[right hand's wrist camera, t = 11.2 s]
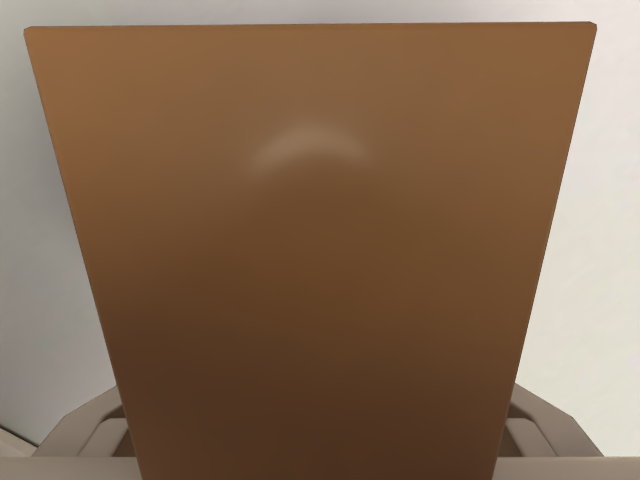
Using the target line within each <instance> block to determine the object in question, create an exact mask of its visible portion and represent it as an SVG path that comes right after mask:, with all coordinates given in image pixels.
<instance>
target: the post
mask: <svg viewBox="0 0 640 480" xmlns="http://www.w3.org/2000/svg"><path fill="white" fill-rule="evenodd" d="M596 31H597V25H596V24H594V23H592V22H478V23H365V24H253V25H140V26H31V27H29V28H26V29H24V38H25V42H26V45H27V49H28V53H29V57H30V60H31V64H32V68H33V72H34V75H35V79H36V83H37V87H38V90H39V94H40V98H41V102H42V106H43V109H44V113H45V117H46V121H47V124H48V128H49V132H50V136H51V139H52V143H53V147H54V151H55V154H56V158H57V162H58V166H59V169H60V173H61V177H62V181H63V184H64V188H65V192H66V196H67V199H68V203H69V207H70V211H71V214H72V218H73V222H74V226H75V229H76V233H77V237H78V241H79V244H80V248H81V252H82V256H83V260H84V263H85V267H86V271H87V275H88V278H89V282H90V286H91V290H92V293H93V297H94V301H95V305H96V308H97V312H98V316H99V320H100V323H101V327H102V331H103V335H104V338H105V342H106V346H107V350H108V353H109V357H110V361H111V365H112V368H113V372H114V376H115V380H116V383H117V387H118V391H119V395H120V399H121V402H122V406H123V410H124V414H125V417H126V421H127V425H128V429H129V432H130V436H131V440H132V444H133V447H134V451H135V455H136V459H137V462H138V466H139V470H140V474H141V477H142V480H492V478H493V474H494V469H495V465H496V461H497V456H498V452H499V448H500V444H501V439H502V435H503V431H504V426H505V422H506V418H507V414H508V409H509V405H510V401H511V396H512V392H513V388H514V384H515V379H516V375H517V371H518V366H519V362H520V358H521V353H522V349H523V345H524V341H525V336H526V332H527V328H528V323H529V319H530V315H531V311H532V306H533V302H534V298H535V293H536V289H537V285H538V280H539V276H540V272H541V268H542V263H543V259H544V255H545V250H546V246H547V242H548V238H549V233H550V229H551V225H552V220H553V216H554V212H555V207H556V203H557V199H558V195H559V190H560V186H561V182H562V177H563V173H564V169H565V165H566V160H567V156H568V152H569V147H570V143H571V139H572V134H573V130H574V126H575V122H576V117H577V113H578V109H579V104H580V100H581V96H582V92H583V87H584V83H585V79H586V74H587V70H588V66H589V62H590V57H591V53H592V49H593V44H594V40H595V36H596Z"/></svg>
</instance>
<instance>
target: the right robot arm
mask: <svg viewBox="0 0 640 480" xmlns="http://www.w3.org/2000/svg"><path fill="white" fill-rule="evenodd" d="M0 480H142V477H141V474H140V470H139V466H138V462H137V459H136V455H135V451H134V447H133V444H132V440H131V436H130V432H129V429H128V425H127V421H126V417H125V414H124V410H123V406H122V402H121V399H120V395H119V391H118V387H117V385H116V386H115V387H113V388H111V389H110V390H108V391H106V392H105V393H103V394H101V395H99V396H98V397H96V398H94V399H93V400H91V401H89V402H88V403H86V404H84V405H83V406H81V407H79V408H77V409H76V410H74V411H72V412H71V413H69V414H67V415H66V416H64V417H63V418H62V419H61V420H60V422H59V423H58V424H57V425H56V426H55V428H54V429H53V430H52V431H51V432H50V434H49V435H48V436H47V437H46V438H45V440H44V441H43V442H42V443H41V445H40V446H39V447H38V448H37V447H35V446H33V445H31V444H29V443H27V442H26V441H24V440H22V439H20V438H18V437H16V436H14V435H13V434H11V433H9V432H7V431H5V430H3V429H1V428H0ZM492 480H640V457H604V455H603V454H602V453H601V452H600V451H599V449H598V448H597V447H596V446H595V444H594V443H593V442H592V441H591V439H590V438H589V437H588V436H587V434H586V433H585V432H584V431H583V429H582V428H581V427H580V426H579V424H578V423H577V422H576V421H575V420H574V418H573V417H571V416H570V415H568V414H566V413H565V412H563V411H561V410H560V409H558V408H556V407H555V406H553V405H551V404H550V403H548V402H546V401H545V400H543V399H541V398H540V397H538V396H536V395H534V394H533V393H531V392H529V391H528V390H526V389H524V388H523V387H521V386H519V385H518V384H516V383H515V384H514V388H513V392H512V396H511V401H510V405H509V409H508V414H507V418H506V422H505V426H504V431H503V435H502V439H501V444H500V448H499V452H498V456H497V461H496V465H495V469H494V474H493V478H492Z"/></svg>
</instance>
